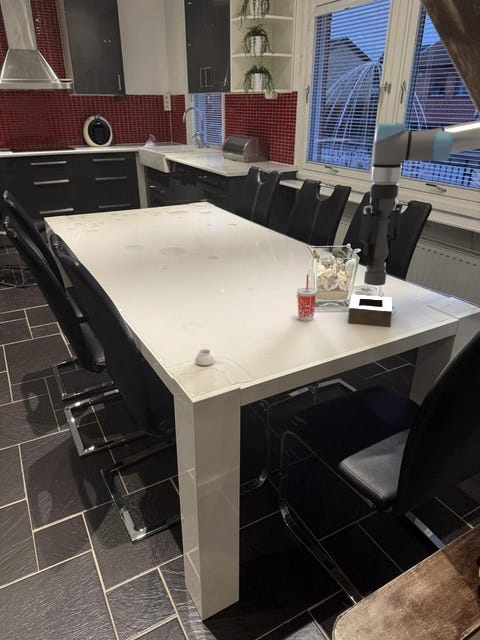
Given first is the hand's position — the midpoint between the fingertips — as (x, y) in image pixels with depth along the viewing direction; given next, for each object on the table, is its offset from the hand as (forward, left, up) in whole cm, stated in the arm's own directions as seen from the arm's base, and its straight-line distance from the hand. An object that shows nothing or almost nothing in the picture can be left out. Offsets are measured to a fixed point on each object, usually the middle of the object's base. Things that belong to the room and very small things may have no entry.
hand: (376, 263), depth 138 cm
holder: (0, +1, -17) cm, 17 cm away
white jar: (+27, +51, -17) cm, 60 cm away
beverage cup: (+17, +11, -17) cm, 27 cm away
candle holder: (0, 0, -6) cm, 6 cm away
